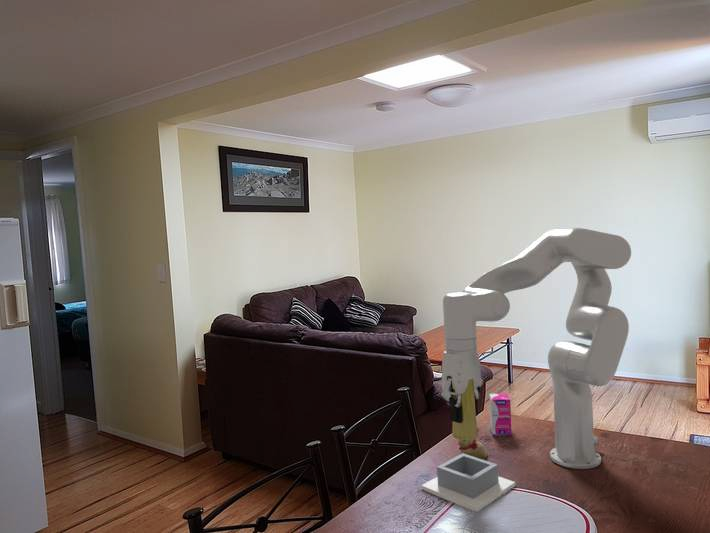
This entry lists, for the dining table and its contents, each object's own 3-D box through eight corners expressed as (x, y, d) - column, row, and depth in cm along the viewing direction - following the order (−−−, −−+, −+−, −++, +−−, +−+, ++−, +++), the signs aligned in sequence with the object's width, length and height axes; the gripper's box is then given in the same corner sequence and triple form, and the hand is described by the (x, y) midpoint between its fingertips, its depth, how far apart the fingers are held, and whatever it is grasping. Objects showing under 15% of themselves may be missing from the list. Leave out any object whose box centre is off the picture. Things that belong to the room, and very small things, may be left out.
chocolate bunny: (458, 453, 147) (457, 418, 146) (487, 453, 146) (485, 418, 145) (459, 461, 141) (457, 426, 141) (489, 462, 140) (487, 425, 140)
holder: (461, 467, 138) (460, 446, 138) (515, 486, 126) (514, 463, 126) (421, 489, 127) (420, 467, 127) (476, 512, 116) (475, 488, 115)
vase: (478, 440, 122) (475, 381, 122) (452, 440, 124) (449, 381, 123) (477, 431, 128) (474, 374, 128) (452, 430, 130) (449, 374, 129)
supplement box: (492, 436, 157) (490, 399, 157) (490, 429, 163) (488, 393, 163) (512, 436, 156) (510, 399, 156) (509, 429, 162) (508, 393, 162)
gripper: (469, 336, 133) (472, 405, 134) (425, 349, 122) (429, 424, 123) (494, 339, 128) (497, 412, 129) (451, 353, 116) (455, 432, 117)
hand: (464, 417), depth 126 cm, fingers closed on vase, 5 cm apart
